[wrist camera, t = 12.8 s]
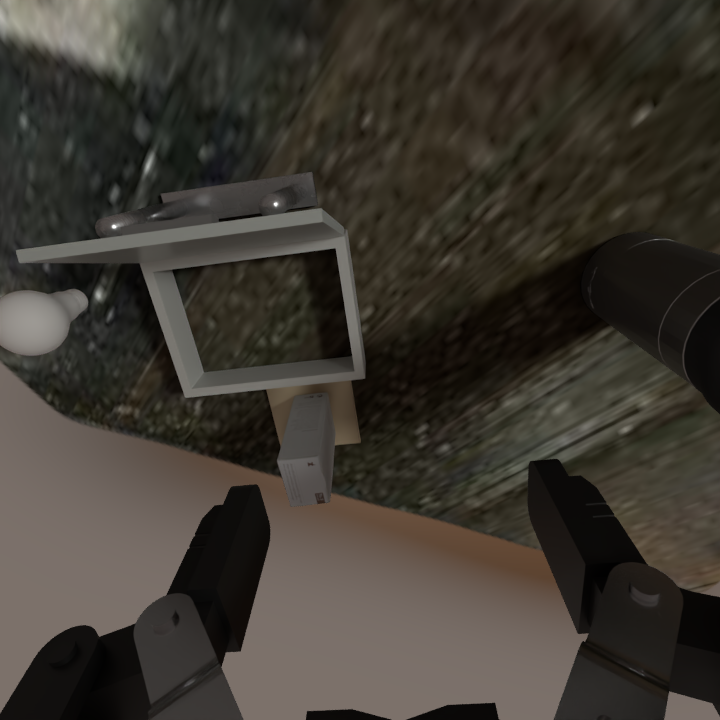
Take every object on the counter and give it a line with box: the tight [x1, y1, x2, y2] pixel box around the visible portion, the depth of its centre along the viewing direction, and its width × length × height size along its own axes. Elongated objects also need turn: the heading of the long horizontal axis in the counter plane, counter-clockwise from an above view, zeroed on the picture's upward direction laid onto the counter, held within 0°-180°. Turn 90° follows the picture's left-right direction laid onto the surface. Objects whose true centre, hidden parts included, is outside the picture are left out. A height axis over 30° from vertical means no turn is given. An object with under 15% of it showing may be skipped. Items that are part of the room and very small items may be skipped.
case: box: [140, 229, 366, 398], centre depth 47 cm, size 20×15×4 cm
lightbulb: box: [0, 289, 88, 356], centre depth 44 cm, size 6×6×11 cm
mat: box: [266, 380, 361, 446], centre depth 54 cm, size 10×9×1 cm
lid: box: [16, 208, 345, 263], centre depth 35 cm, size 20×14×1 cm
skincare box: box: [277, 392, 336, 507], centre depth 48 cm, size 6×4×12 cm
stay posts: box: [95, 172, 318, 238], centre depth 38 cm, size 15×3×14 cm, turn 98°
